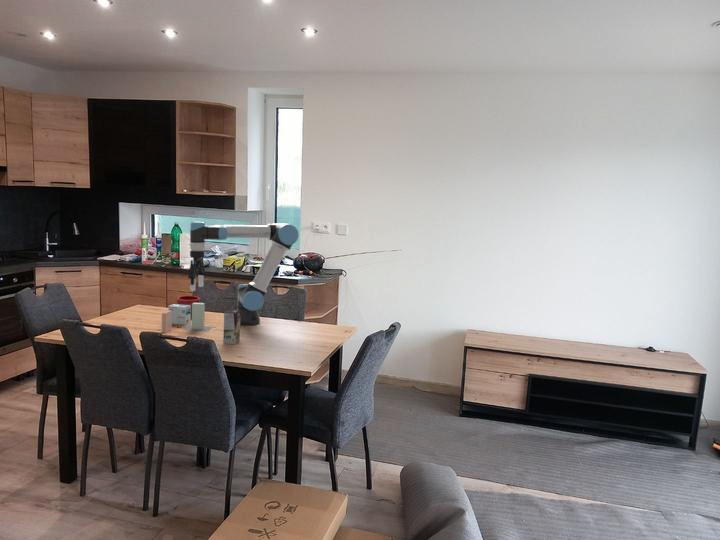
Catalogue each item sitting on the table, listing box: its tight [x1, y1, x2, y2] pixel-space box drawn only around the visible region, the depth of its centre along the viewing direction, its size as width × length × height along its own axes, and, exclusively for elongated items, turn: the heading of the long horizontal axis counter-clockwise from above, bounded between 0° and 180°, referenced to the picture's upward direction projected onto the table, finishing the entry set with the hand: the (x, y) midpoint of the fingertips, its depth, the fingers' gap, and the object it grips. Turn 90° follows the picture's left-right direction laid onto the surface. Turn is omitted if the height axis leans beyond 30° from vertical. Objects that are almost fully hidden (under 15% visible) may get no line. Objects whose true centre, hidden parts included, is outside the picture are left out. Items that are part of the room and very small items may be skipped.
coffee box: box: [222, 309, 241, 345], centre depth 280 cm, size 9×6×16 cm
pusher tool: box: [191, 302, 206, 329], centre depth 302 cm, size 6×4×14 cm, turn 89°
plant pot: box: [176, 295, 201, 319], centre depth 332 cm, size 13×13×12 cm
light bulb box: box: [167, 303, 191, 326], centre depth 313 cm, size 11×7×11 cm, turn 84°
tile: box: [161, 309, 173, 334], centre depth 293 cm, size 2×9×11 cm, turn 0°
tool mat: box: [182, 324, 214, 333], centre depth 303 cm, size 14×12×1 cm
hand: (196, 288), depth 301 cm, fingers open, 13 cm apart
